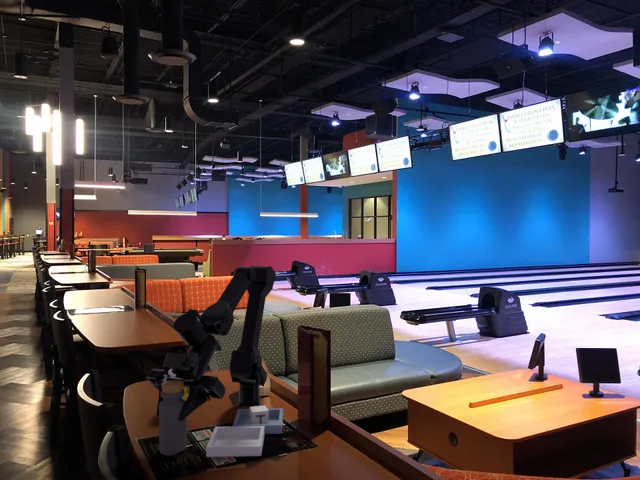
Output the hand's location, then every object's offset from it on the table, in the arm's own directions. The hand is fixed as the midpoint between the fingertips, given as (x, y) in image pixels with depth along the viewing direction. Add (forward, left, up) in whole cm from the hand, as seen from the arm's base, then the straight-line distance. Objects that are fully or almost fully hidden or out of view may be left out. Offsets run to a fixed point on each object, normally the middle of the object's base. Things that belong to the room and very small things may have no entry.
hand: (168, 418), depth 114 cm
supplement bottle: (-30, -4, -8) cm, 32 cm away
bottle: (-1, +1, -8) cm, 8 cm away
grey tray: (-2, +15, -8) cm, 17 cm away
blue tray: (-14, +19, -8) cm, 25 cm away
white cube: (-14, +19, -7) cm, 24 cm away
